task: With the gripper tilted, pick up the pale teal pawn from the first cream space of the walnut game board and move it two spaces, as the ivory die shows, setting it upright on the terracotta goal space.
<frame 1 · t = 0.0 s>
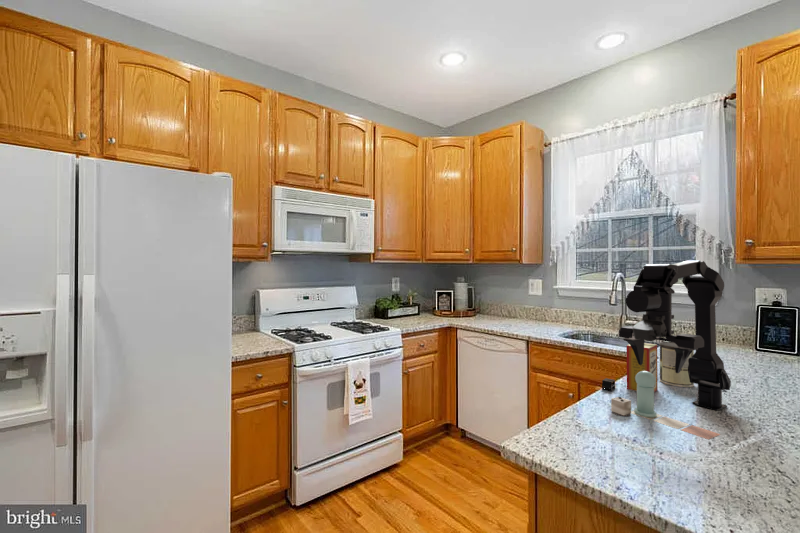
hand: (658, 368, 101), 15 cm above the worktop, tool pointing down, fingers open, 9 cm apart
coffee can: (676, 383, 137), on the worktop
baking soda box: (642, 391, 128), on the worktop
pawn: (645, 413, 105), point 1 cm above the worktop, touching game board
game board: (670, 423, 101), on the worktop
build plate: (608, 394, 126), on the worktop
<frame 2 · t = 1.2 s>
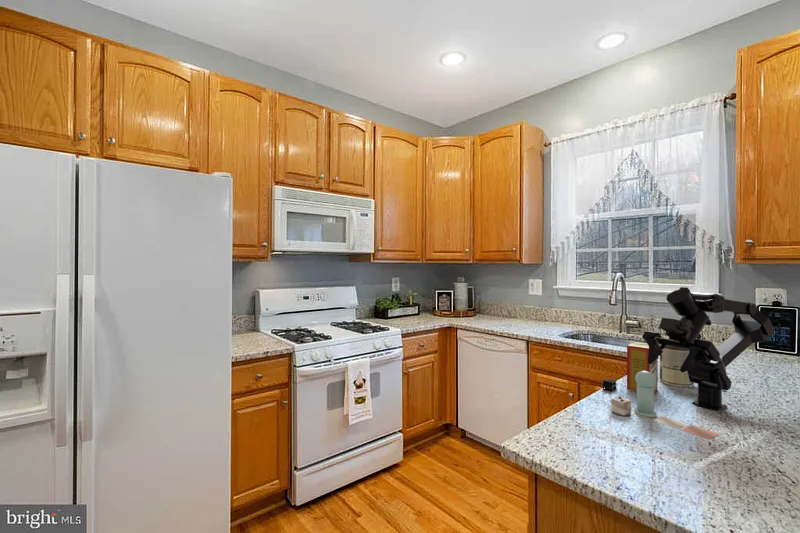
hand: (664, 367, 107), 13 cm above the worktop, tool tilted 45°, fingers open, 9 cm apart
nothing on the worktop moved.
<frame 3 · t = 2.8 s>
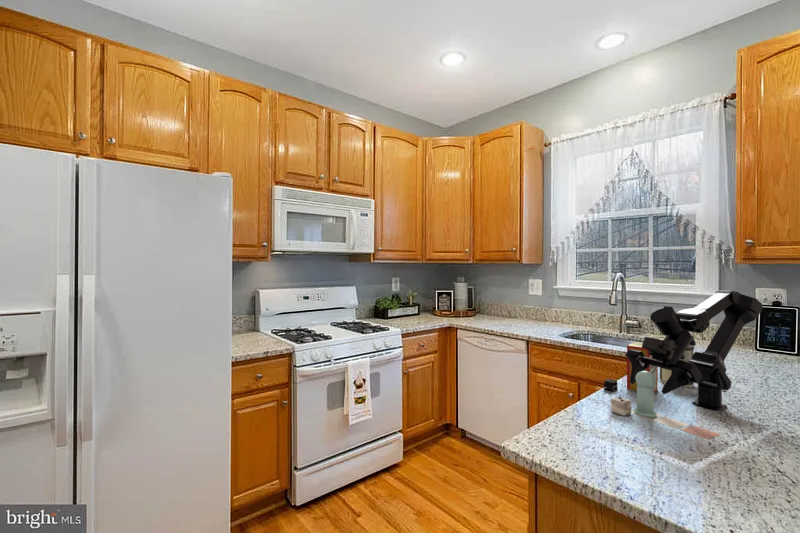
hand: (646, 387, 105), 8 cm above the worktop, tool tilted 45°, fingers open, 9 cm apart
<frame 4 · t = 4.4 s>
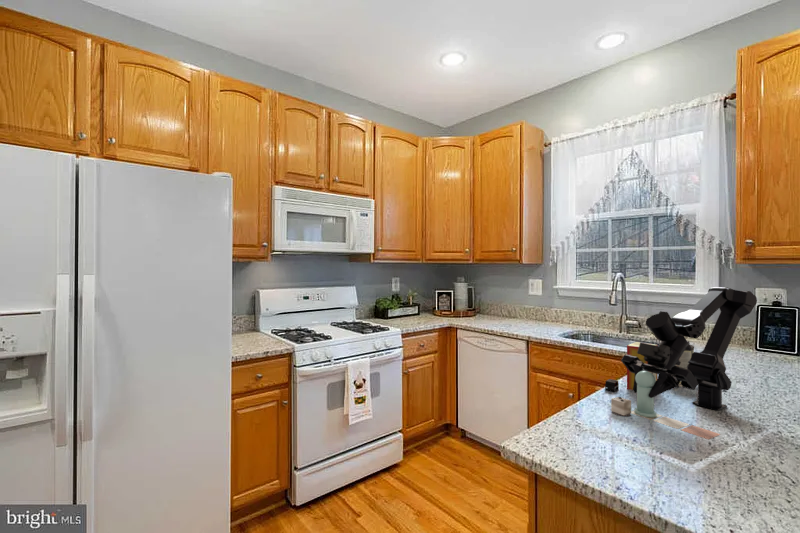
hand: (641, 394, 104), 7 cm above the worktop, tool tilted 45°, fingers closed on pawn, 4 cm apart
pawn: (645, 413, 105), point 1 cm above the worktop, touching game board, gripper
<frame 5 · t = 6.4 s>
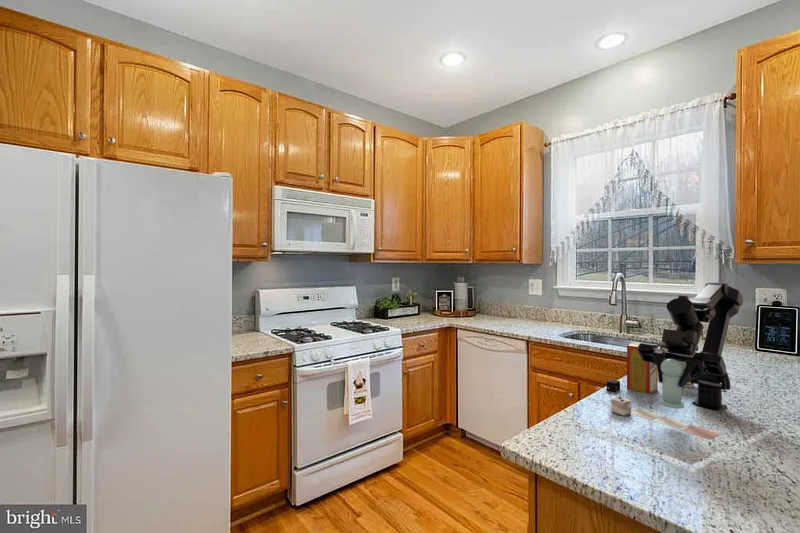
hand: (669, 384, 98), 12 cm above the worktop, tool tilted 45°, fingers closed on pawn, 4 cm apart
pawn: (671, 404, 98), point 6 cm above the worktop, touching gripper
when the fingers open (8 cm above the worktop, at t = 8.2 s): pawn stays where it is, resting on game board.
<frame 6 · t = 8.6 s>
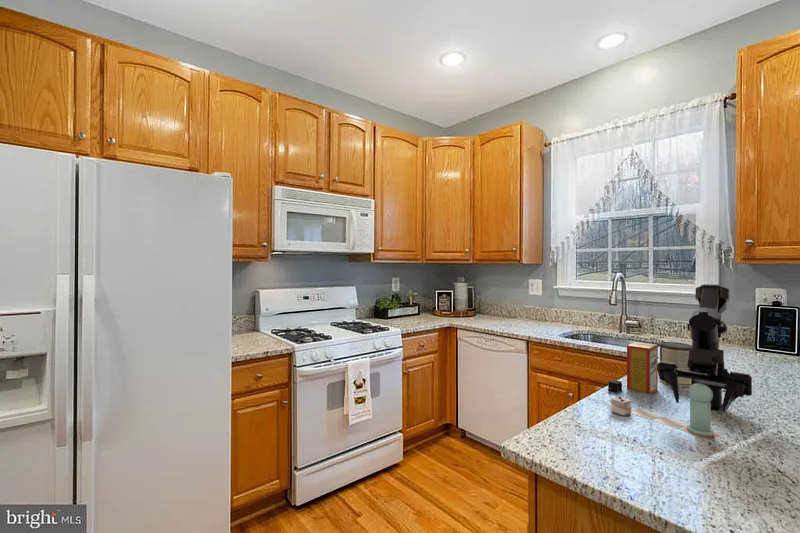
hand: (699, 406, 92), 8 cm above the worktop, tool tilted 45°, fingers open, 9 cm apart
pawn: (700, 431, 93), point 1 cm above the worktop, touching game board
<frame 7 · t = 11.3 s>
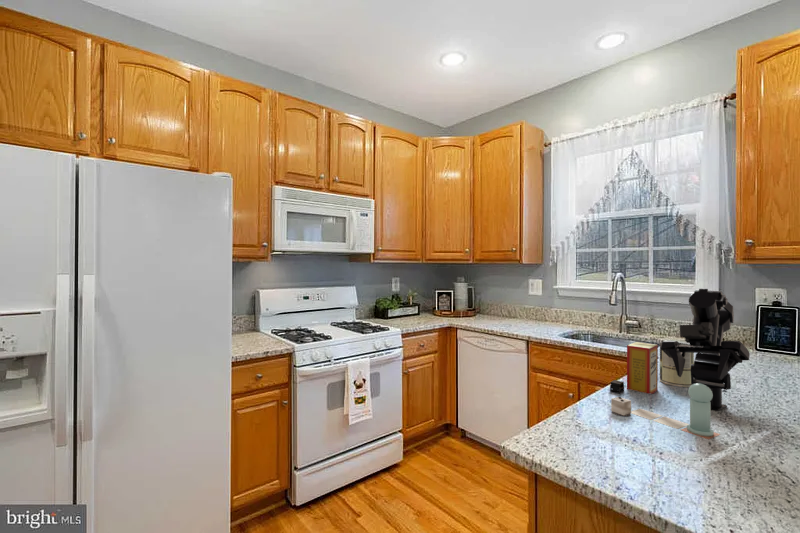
hand: (698, 377, 100), 12 cm above the worktop, tool tilted 40°, fingers open, 9 cm apart
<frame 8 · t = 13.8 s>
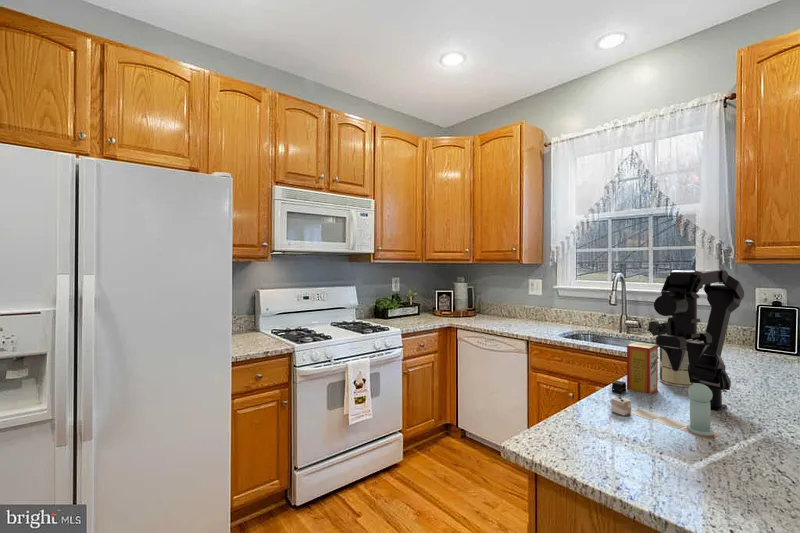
hand: (683, 368, 107), 13 cm above the worktop, tool pointing down, fingers open, 9 cm apart
at the end: pawn 0.0 cm from the target spot, point 0.9 cm above the worktop; pawn tilted 0°; the gripper is holding nothing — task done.
